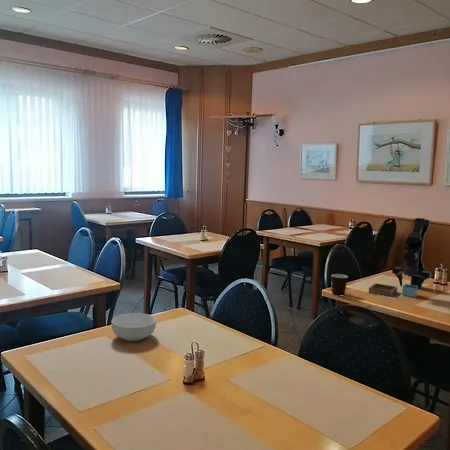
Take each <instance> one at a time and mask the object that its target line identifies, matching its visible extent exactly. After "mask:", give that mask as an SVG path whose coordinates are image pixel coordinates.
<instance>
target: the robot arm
mask: <svg viewBox="0 0 450 450" xmlns="http://www.w3.org/2000/svg"><path fill="white" fill-rule="evenodd" d="M412 226H413V229H412V231H411V233H409V234H408V236H407V237H405V238H406V239H405V243H404V250H407V251H406V252H405V253H404V255H403V260H404V261H405V265H404V268H403V267H402V266H394V267H393V268H392V271H391V273H392V274H393V275H394V276H396V277H397V279H398V282H399V286H400V287H402V288H403V275H404V276H407V277H410V284H409V285H415V286H418V290H419V291H420V290H421V289H423V283H424V282H425V281H426V280H428V279H430V278H431V277H432V271H430V270H428V271H427V270H426V268H425V264H424V262H423V251H424V245H425V236H426V234H427V233H428V232H429V229H430V227H431V220H428V219H425V217H424V218H423V217H416V218H413V222H412Z"/></svg>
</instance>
